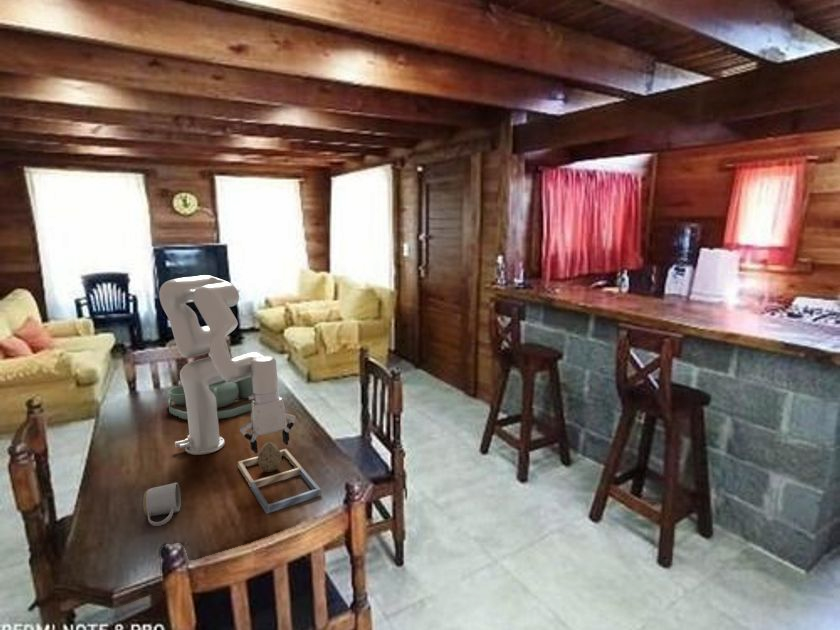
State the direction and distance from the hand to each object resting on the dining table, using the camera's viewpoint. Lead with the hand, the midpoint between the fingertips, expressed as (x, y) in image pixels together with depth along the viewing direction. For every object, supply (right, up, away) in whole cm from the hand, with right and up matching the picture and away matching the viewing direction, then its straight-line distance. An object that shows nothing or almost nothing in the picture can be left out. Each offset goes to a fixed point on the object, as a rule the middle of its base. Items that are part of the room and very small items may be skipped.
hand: (270, 447), depth 152 cm
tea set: (-41, +3, +58) cm, 71 cm away
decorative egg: (-1, -8, +2) cm, 9 cm away
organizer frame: (+3, -9, -4) cm, 10 cm away
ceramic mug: (-23, -13, -21) cm, 33 cm away
